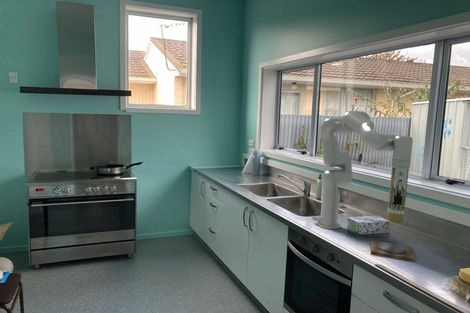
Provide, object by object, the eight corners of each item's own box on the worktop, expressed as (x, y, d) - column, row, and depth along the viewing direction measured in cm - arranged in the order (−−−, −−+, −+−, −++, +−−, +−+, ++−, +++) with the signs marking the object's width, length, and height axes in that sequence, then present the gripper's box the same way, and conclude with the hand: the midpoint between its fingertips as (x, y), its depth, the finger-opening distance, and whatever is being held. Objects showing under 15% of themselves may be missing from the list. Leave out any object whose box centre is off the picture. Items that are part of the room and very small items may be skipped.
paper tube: (389, 218, 169) (394, 165, 166) (404, 221, 165) (410, 167, 162) (384, 220, 164) (390, 166, 161) (400, 224, 160) (406, 168, 157)
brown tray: (370, 254, 162) (371, 248, 162) (370, 243, 176) (370, 238, 176) (414, 261, 156) (415, 256, 156) (411, 250, 170) (411, 245, 170)
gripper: (412, 166, 152) (407, 208, 154) (408, 162, 168) (404, 199, 170) (392, 164, 155) (388, 205, 157) (390, 160, 171) (386, 197, 173)
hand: (396, 202), depth 164 cm, fingers closed on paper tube, 6 cm apart
